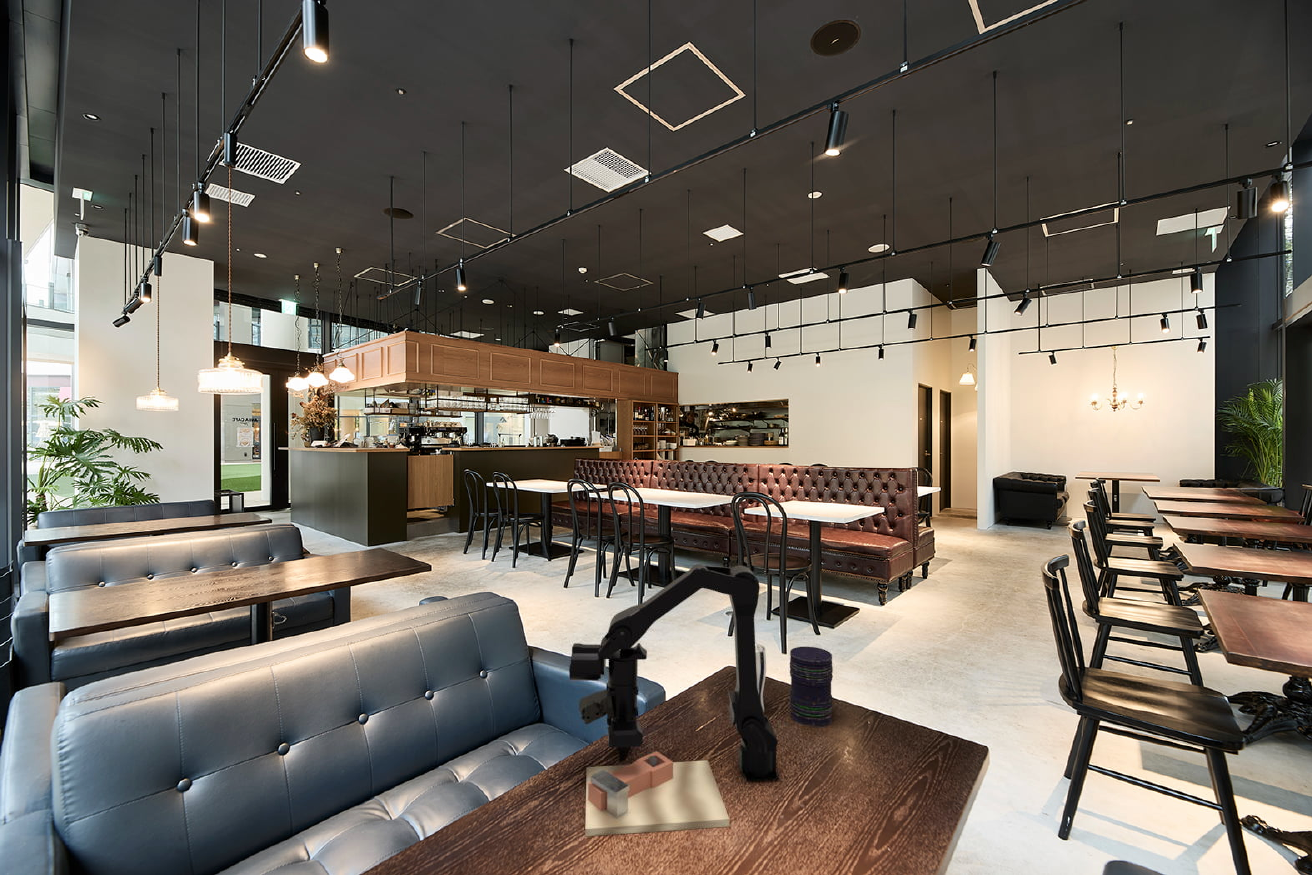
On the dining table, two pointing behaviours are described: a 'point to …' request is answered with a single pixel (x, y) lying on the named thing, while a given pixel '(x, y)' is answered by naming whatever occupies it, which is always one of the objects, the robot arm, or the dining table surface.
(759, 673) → the beer glass
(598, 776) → the block
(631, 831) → the board
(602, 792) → the link
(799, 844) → the dining table surface
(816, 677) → the storage jar
